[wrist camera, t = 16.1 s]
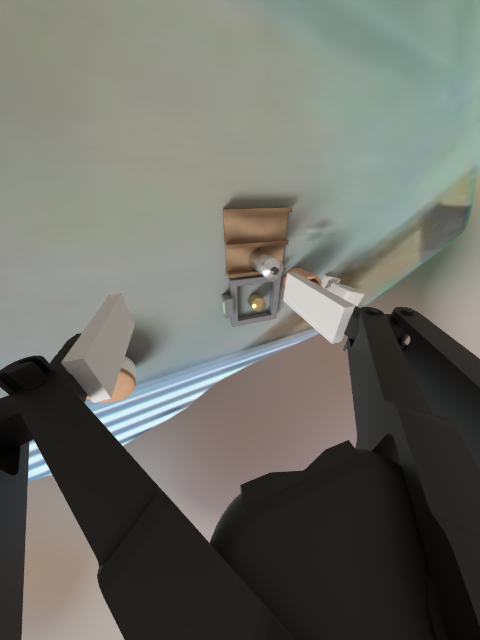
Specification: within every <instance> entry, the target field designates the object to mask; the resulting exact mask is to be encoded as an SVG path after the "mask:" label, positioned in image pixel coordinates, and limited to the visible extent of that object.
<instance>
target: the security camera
mask: <svg viewBox="0 0 480 640" xmlns="http://www.w3.org/2000/svg"><path fill="white" fill-rule="evenodd" d="M329 280H330V282H328V281H329ZM340 280H341V279H339V278H336V277H331V276H327V275H324V277H323V279H322V281H321V282H322V284H321V286H322V287H323V288H324V289H326V290H328V291H330V292H331V293H333V294H335V295H337V296H339V297H341V298H343V299H344V300H346V301H348V302H350V303H352V304H353V305H355V306H358V304H359V303H360V301H361V300H362V298H363V297H364V295H365V294H364V293H362V292H360V291H358V290H356V289H353V288H351V287H349V286H347V285H342V284H339V282H340Z"/></svg>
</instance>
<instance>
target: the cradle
mask: <svg viewBox="0 0 480 640" xmlns="http://www.w3.org/2000/svg"><path fill="white" fill-rule="evenodd" d="M266 282H272V286H271V297H270V309H269V312H266V313H261V314H255V315H249V316H244V317H238V301H237V286H243V285H251V284H258V283H266ZM280 282H281V276H280V277H279V278H278V279H276V280H268V279H267V278H265V277H264V276H263V275H262V274H261V275H253V276H245V277H237V278H229V291H230V294H224V295H222V304H223V313H224V315H225V317H226V318H228V317H231V324H232V326H233V327H235V326H240V325H245V324H251V323H256V322H261V321H266V320H272V319H276V316H277V308H278V299H279V291H280Z"/></svg>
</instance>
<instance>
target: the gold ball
mask: <svg viewBox="0 0 480 640" xmlns="http://www.w3.org/2000/svg"><path fill="white" fill-rule="evenodd" d="M248 303H249V305H250V306H251V307H252V309H253V310H254V311H256V312H259V311H262V310H263V309H264V308H265V305H266V303H265V301H264V300H263V299H262V297H261V296H260V295H258V294H253V295H251V296H250V297H249V300H248Z"/></svg>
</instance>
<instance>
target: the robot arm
mask: <svg viewBox="0 0 480 640" xmlns="http://www.w3.org/2000/svg"><path fill="white" fill-rule="evenodd" d="M283 301H284V302H285V303H286V304H288V305H289V306H290V307H291V308H292V309H293V310H294V311H295V312H297V313H298V314H299V315H300V316H301V317H302V318H303V319H305V320H306V321H307V322H308V323H309V324H310V325H311V326H312V327H314V328H315V329H316V330H317V331H318V332H319V333H320V334H322V335H323V336H324V337H325V338H326V339H327V340H328V341H330V342H331V343H332V344H333V343H337V342H341V341H342V339H343V336H344V334H345V335H346V336H348V339H347V342H346V344H345V347H344V349H343V350H344V351H345V350H346V349H348V358H349V367H350V375H351V385H352V394H353V402H354V411H355V419H356V428H357V443H356V447H355V448H354V447H353V446H352V444H351V443H350V441H349V440H348V441H345V442H343V443H340V444H338V445H336V446H333V447H331V448H329V449H326V450H325V451H324V452H323V453H322V454H321V455H320V456H318V458H316V459H315V461H313V462H312V463H311V464H310V465H309V466H308V467H307V468H306V469H305V470H303V471H291V472H273V473H268V474H266V475H263V476H261V477H259V478H256V479H254V480H251V481H249V482H247V483H244V484H242V485H241V494H240V495H238V496H237V497H236V498H235V499H234V500H233V502H232V503H231V504H230V505H229V506H228V508H227V509H226V510H225V512H224V513H223V515H222V517H221V518H220V520H219V522H218V524H217V526H216V529H215V531H214V533H213V535H212V538H211V541H210V543H209V542H208V541H207V540H206V539H205V538H204V536H203V535H202V534H201V533H200V532H199V531H198V530H197V529H196V528H195V526H194V525H193V524H192V523H191V522H190V521H189V520H188V519H187V517H186V516H185V515H184V514H183V513H182V512H181V511H180V510H179V508H178V507H177V506H176V505H175V504H174V503H173V502H172V501H171V499H169V497H168V496H167V495H166V494H165V493H164V492H163V491H162V490H161V489H160V488H159V487H158V485H157V484H156V483H155V482H154V481H153V480H152V479H151V478H150V477H149V475H148V474H147V473H146V472H145V471H144V470H143V469H142V468H141V467H140V465H139V464H138V463H137V462H136V461H135V460H134V459H133V457H132V456H131V455H130V454H129V453H128V452H127V451H126V449H125V448H124V447H123V446H122V445H121V444H120V443H119V442H118V440H117V439H116V438H115V437H114V436H113V435H112V434H111V433H110V431H109V430H108V429H107V428H106V427H105V426H104V425H103V424H102V422H101V421H100V420H99V419H98V418H97V417H96V416H95V415H94V413H93V412H92V411H91V410H90V409H89V408H88V407H87V406H86V404H85V403H84V402H85V400H86V398H87V396H88V397H89V398H90V400H91V401H92V402H93V403H95V402H99V401H103V400H107V399H111V397H112V394H113V391H114V388H115V385H116V382H117V379H118V376H119V373H120V370H121V367H122V364H123V361H124V358H125V354H126V351H127V348H128V345H129V342H130V339H131V336H132V333H133V330H134V327H135V324H134V322H133V319H132V317H131V314H130V312H129V309H128V307H127V305H126V302H125V300H124V297H123V295H122V293H121V294H113V295H109V296H108V298H107V299H106V301H105V302H104V303H103V305H102V306H101V308H100V309H99V310H98V312H97V313H96V315H95V316H94V317H93V319H92V320H91V321H90V323H89V324H88V326H87V327H86V328H85V330H84V331H83V333H81V334H76V335H75V336H73V337H72V338H70V339H69V340H68V341H67V342H66V343H65V344H64V346H63V347H62V349H61V350H60V351H59V352H58V354H57V355H56V356H55V357H54V358H53V360H52V361H51V362H50V364H49V363H48V361H47V360H46V359H45V358H44V357H42V356H31V357H27V358H23V359H21V360H18V361H15V362H14V363H12V364H10V365H8V366H6V367H5V368H3V369H2V370H0V387H1V388H2V389H3V390H4V391H6V392H7V393H8V394H9V395H8V396H6V397H3V398H0V640H21V634H22V609H23V584H24V557H25V534H26V533H25V531H26V509H27V483H28V459H29V441H31V440H33V439H34V441H35V443H36V444H37V446H38V448H39V450H40V452H41V454H42V456H43V458H44V460H45V461H46V463H47V465H48V467H49V469H50V471H51V473H52V475H53V476H54V478H55V480H56V482H57V484H58V486H59V488H60V490H61V492H62V493H63V495H64V497H65V499H66V501H67V503H68V505H69V507H70V508H71V510H72V512H73V514H74V516H75V518H76V520H77V522H78V524H79V525H80V527H81V529H82V531H83V533H84V535H85V537H86V539H87V541H88V542H89V544H90V546H91V548H92V550H93V552H94V554H95V556H96V558H97V560H98V563H99V570H98V574H97V578H98V583H99V587H100V589H101V592H102V594H103V597H104V599H105V601H106V603H107V605H108V607H109V609H110V611H111V613H112V615H113V617H114V619H115V621H116V623H117V625H118V627H119V629H120V631H121V633H122V635H123V637H124V639H125V640H480V359H479V358H478V357H476V356H475V355H474V354H473V353H471V352H470V351H469V350H467V349H466V348H465V347H463V346H462V345H461V344H459V343H458V342H457V341H455V340H454V339H453V338H451V337H450V336H449V335H447V334H446V333H445V332H443V331H442V330H441V329H440V328H438V327H437V326H436V325H434V324H433V323H432V322H430V321H429V320H428V319H427V318H425V317H424V316H423V315H421V314H420V313H418V312H417V311H415V310H412V309H411V308H407V307H396V308H394V310H393V312H392V314H384V313H383V312H382V311H380V310H378V309H375V308H371V307H362V308H359V307H357V306H355V305H353V304H352V303H350V302H348V301H346V300H344V299H343V298H341V297H339V296H337V295H335V294H333V293H331V292H330V291H328V290H326V289H324V288H322V287H321V286H319V285H317V284H315V283H313V282H312V281H310V280H308V279H306V278H305V277H303V276H301V275H299V274H297V273H296V272H291V273H287V278H286V285H285V293H284V300H283ZM408 336H410V339H411V340H410V343H409V344H408V345H406V344H405V343H404V342H405V341H406V339H407V338H408Z"/></svg>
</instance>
